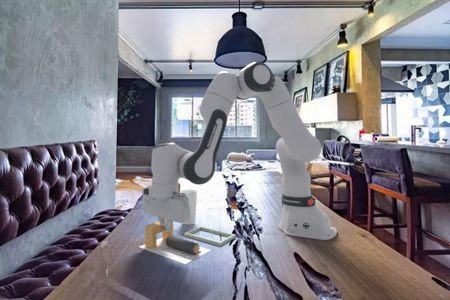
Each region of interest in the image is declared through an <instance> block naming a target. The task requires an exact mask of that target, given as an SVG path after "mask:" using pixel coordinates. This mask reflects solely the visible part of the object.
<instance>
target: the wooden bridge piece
mask: <svg viewBox="0 0 450 300" xmlns="http://www.w3.org/2000/svg"><path fill="white" fill-rule="evenodd" d="M165 222H166V219H165ZM166 224H167V222H166ZM160 233H162V234H161V235H162V237H161V238H162V239H164V240H166V238H167V237H168V236H170V235H171V236H174V222H173V223H172V225H171V231H170V232H165V231H162V230H161V225H160V223H159V220H158V221H155V222H152V223H149V224H146V225H144V244H145V246H146V247H149V248H152V249H154V248H156V247H157V243H156V240H157V235H158V234H160Z"/></svg>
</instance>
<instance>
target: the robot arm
mask: <svg viewBox="0 0 450 300" xmlns="http://www.w3.org/2000/svg"><path fill="white" fill-rule="evenodd" d="M256 96H257V97H258V98H259V99H260V100H261V101H262V104H263V107H264V109H265V112H266V114H267V116H268V119H269V120H270V124H271V126H272V128H273V129H274V130H275V131H276V132H277V133H278V134H279V136H280V138H279V139H278V140H277V141H276V143H275V151H276V153H277V156H278V157H279V163H280V169H281V174H282V194H281V207H282V211H281V218H280V222H279V225H278V229H280V230H281V231H282V232H284V234H285V235H286V236H293V237H298V238H306V239H307V238H308V239H313V240H314V239H315V240H322V241H329V240H332V239H334V238H335V237H336V236H337V233H338V232H337V228H336V227H333V226H331V219H330V218H329V215H328V214H327V213H325V212H324V211H323V210H322V209H321V208H320V207H318V206H317V205H316V201H317V197H314V196H313V195H311V175H310V173H309V171H308V168H307V166H306V163H309V162H313V161H315V160H317V159H318V158H319V157H320V155H321V153H322V145H321V141H320V140H319V139H318V138H317V137H316V136H314V135H313V134H312V133H311V132H310V131H311V130H309V129H308V127H307V126H306V124H305V123H304V122H303V119H301V117H300V115H299V113H298V111H297V108H296V106H295V103H294V101H293V98H292V96H291V93H290V92H289V89H288V87H286V84H285V83H284V81H283V80H282V79H281V78H280V77H279V76H275V74H274V73H273V72H272V70H271V69H270V67H269V65H267V64H266V63H264V62H263V61H262V62H261V61H256V62H252V63H250V64H248V65H246V66H245V67H244V68H242V69H241V70H240V71H239V72H238V73H236V74H235V75H234V74H233V73H231V72H229V71H228V72H227V71H220V72H218V73H217V74H216V75H215V76H214V78H213V79H212V81H211V82H210V84H209V86H208V87H207V89H206V91H205V93H204V95H203V98H202V100H201V102H200V106H199V114H200V115H201V118H202V119H203V120H204V122H205V128H204V131H203V133H202V137H201V139H200V141H199V144H198V147H197V148H196V150H195V151H192V150H191V151H190V150H189V149H188V150H187V149H185V148H183V147H181V146H179V145H178V144H176V142H173V141H171V142H163V143H159V144H156V145H155V146H154V147H153V149H152V152H151V165H150V166H151V168H150V170H151V172H152V178H151V185H150V186H147V187H144V188H142V190H141V193H142V195H143V196H142V212H143V214H144V215H147V216H152V217H156V218H158V221H159V223H160V225H161V230H162V231H165V232H170V231H171V225H172V223H173V224H174V222H175V223H178V224H183V223H185V222H188V221H189V220H190V218H191V216H190V206H189V202H188V198H187V196H186V195H185V194H183V193H181V192H180V193H179V188H178V183H179V179H185V180H188V181H189V182H190V183H192V184H193V185H201V186H202V185H205V184H206V183H208V182H209V181H211V180H212V178H213V176H214V175H215V171H216V161H217V155H218V151H219V148H220V146H221V144H222V140H223V137H224V134H225V130H226V127H227V125H228V118H229V115H230V113H231V111H232V108H233V106H234V103H235V101H236V100H241V101H245V100H249V99H251V98H254V97H256ZM165 219H166V222H167V224H166V222H165Z"/></svg>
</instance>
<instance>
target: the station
mask: <svg viewBox="0 0 450 300" xmlns="http://www.w3.org/2000/svg"><path fill="white" fill-rule="evenodd" d="M156 243H157V247H156V248H154V249H152V248H149V247H146V246H145V243H144V244H143V245H139V246H138V248H140V249H143V250H145V251H148V252H151V253H154V254H156V255H159V256H161V257H165V258H167V259H170V260H172V261H175V262H177V263H180V264H183V265H187V264H189V263H191V262H192V261H194V260H196V259H198V258H200V257H201V256H203V255H205V254H207V253H208V252H210V251H212V250H211V249H209V248H206V247H202V246H199V247H200V249H199V252H198V253H197V254H195V255H193V254H191V253H188V252H185V251H182V250H179V249H176V248H173V247H170V246H167V245H166V240H164V239H162V237H160V238H158V239H157V238H156Z"/></svg>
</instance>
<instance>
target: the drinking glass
mask: <svg viewBox="0 0 450 300" xmlns="http://www.w3.org/2000/svg"><path fill="white" fill-rule="evenodd" d="M180 193H183V194H185V195H186V196H187V198H188V202H189V206H190V216H191V218H190V220H189V221H188V222H185V223H182V224H184V225H188V226H189V225H196V218H197V217H196V215H197V203H198V202H197V198H198V197H197V196H198V195H197V190H196V189H183V190H180Z"/></svg>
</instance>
